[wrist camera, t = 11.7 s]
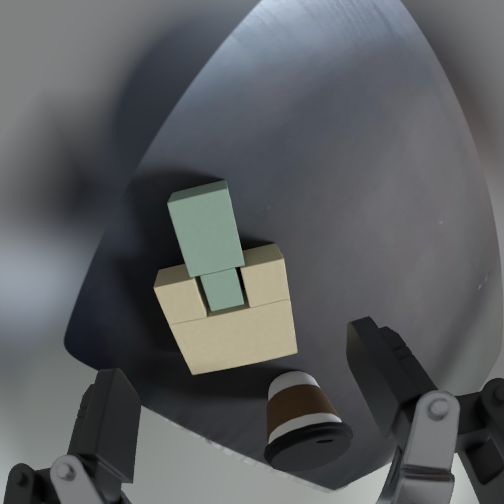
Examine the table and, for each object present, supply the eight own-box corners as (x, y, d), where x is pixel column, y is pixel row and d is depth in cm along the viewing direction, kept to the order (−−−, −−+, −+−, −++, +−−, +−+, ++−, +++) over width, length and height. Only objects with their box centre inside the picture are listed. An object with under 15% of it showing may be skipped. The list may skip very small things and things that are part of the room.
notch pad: (158, 269, 29) (153, 287, 26) (275, 242, 29) (283, 258, 26) (193, 354, 34) (192, 375, 31) (290, 333, 35) (297, 352, 32)
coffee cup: (266, 354, 36) (285, 435, 25) (340, 360, 38) (372, 428, 27) (243, 405, 40) (254, 475, 29) (310, 407, 42) (330, 469, 31)
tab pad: (172, 192, 26) (166, 202, 23) (225, 179, 26) (227, 187, 23) (202, 293, 31) (202, 313, 28) (249, 283, 31) (253, 302, 28)
